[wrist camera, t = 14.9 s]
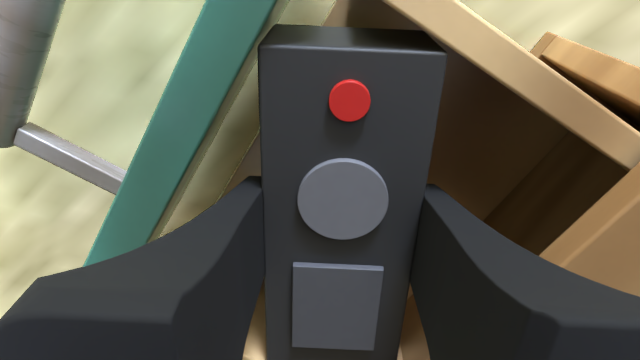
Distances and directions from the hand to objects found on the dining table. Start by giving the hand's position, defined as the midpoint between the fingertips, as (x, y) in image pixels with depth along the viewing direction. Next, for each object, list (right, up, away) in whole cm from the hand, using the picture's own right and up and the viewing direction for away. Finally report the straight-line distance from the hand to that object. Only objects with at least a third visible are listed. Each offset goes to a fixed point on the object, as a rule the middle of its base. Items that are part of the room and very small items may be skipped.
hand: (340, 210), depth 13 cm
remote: (0, +1, +1) cm, 1 cm away
